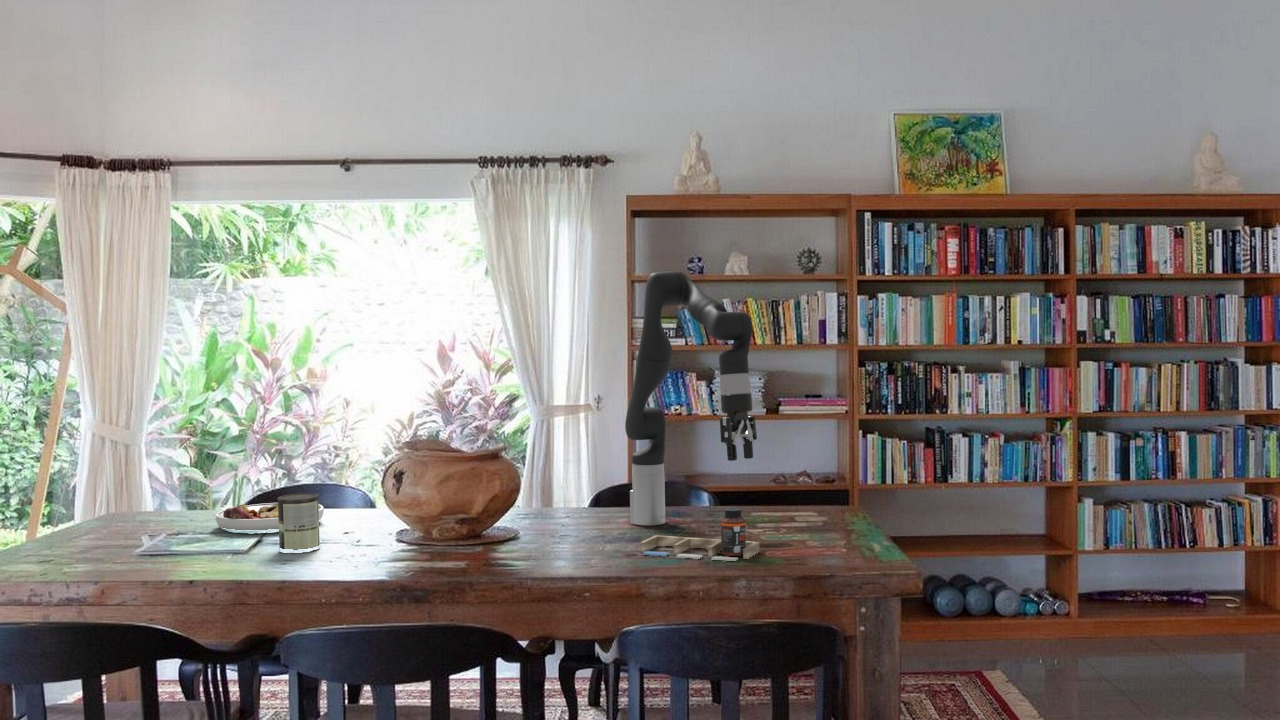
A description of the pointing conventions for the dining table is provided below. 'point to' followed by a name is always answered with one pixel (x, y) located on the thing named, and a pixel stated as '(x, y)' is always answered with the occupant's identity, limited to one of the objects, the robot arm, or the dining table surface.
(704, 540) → the divider rack
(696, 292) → the robot arm
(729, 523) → the supplement bottle
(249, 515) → the bowl
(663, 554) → the bezel tiles
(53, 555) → the dining table surface
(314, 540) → the coffee can
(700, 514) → the dining table surface
